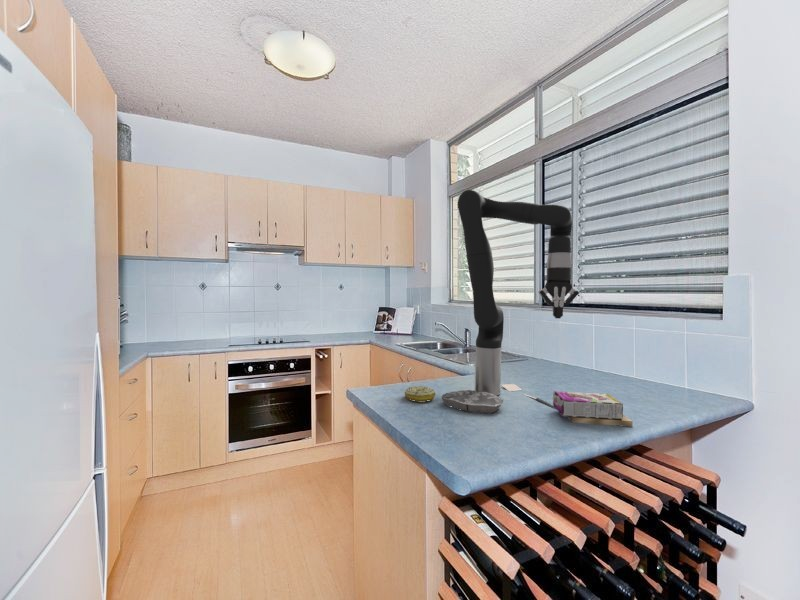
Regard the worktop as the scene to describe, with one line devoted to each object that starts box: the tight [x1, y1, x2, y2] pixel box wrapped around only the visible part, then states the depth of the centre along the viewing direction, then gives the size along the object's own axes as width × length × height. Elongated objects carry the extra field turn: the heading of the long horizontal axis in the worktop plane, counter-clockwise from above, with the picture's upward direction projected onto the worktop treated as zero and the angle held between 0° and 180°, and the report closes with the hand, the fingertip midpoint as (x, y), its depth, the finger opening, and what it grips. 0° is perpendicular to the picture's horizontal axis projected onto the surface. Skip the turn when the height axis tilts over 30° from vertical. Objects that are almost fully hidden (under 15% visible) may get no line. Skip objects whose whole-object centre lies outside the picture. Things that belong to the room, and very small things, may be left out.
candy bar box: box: [552, 390, 624, 420], centre depth 112 cm, size 11×5×16 cm
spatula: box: [501, 383, 558, 411], centre depth 133 cm, size 6×29×2 cm, turn 17°
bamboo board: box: [566, 414, 634, 427], centre depth 114 cm, size 16×16×2 cm
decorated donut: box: [404, 385, 436, 401], centre depth 129 cm, size 10×11×4 cm
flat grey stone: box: [441, 389, 504, 414], centre depth 122 cm, size 20×17×3 cm
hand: (557, 318), depth 125 cm, fingers closed
